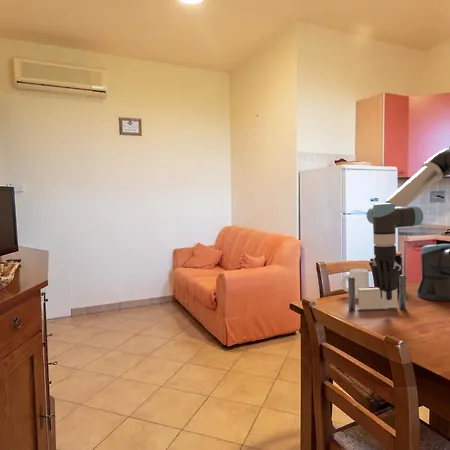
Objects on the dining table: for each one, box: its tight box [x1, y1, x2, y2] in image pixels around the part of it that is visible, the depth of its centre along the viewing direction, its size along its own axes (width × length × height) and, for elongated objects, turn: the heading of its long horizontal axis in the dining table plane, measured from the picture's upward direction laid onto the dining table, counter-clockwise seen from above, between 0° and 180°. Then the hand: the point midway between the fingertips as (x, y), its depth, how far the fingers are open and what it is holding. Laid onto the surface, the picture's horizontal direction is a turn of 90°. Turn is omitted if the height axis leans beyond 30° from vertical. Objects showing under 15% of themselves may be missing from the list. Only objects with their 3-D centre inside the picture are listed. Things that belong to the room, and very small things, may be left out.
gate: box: [357, 287, 398, 309], centre depth 147 cm, size 15×2×8 cm, turn 92°
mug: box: [340, 268, 370, 299], centre depth 168 cm, size 8×12×12 cm
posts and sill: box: [347, 274, 407, 312], centre depth 147 cm, size 23×3×14 cm, turn 89°
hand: (386, 307), depth 138 cm, fingers closed
